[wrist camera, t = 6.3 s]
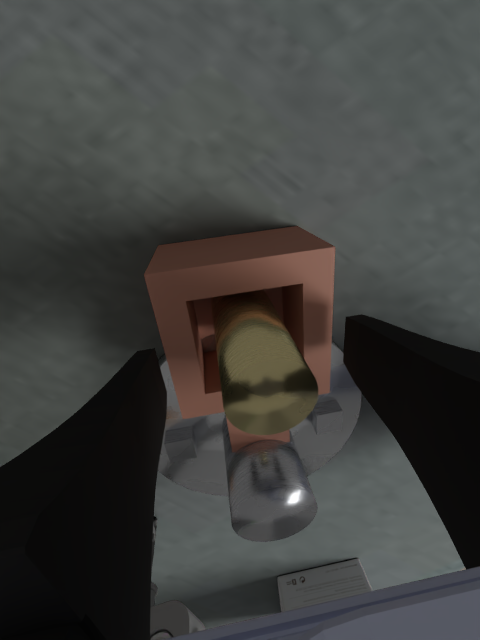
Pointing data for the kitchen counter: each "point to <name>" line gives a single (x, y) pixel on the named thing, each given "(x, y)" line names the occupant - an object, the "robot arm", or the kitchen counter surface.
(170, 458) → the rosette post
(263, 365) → the gold capsule
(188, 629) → the mechanical component
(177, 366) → the bracket
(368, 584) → the supplement box
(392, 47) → the kitchen counter surface
